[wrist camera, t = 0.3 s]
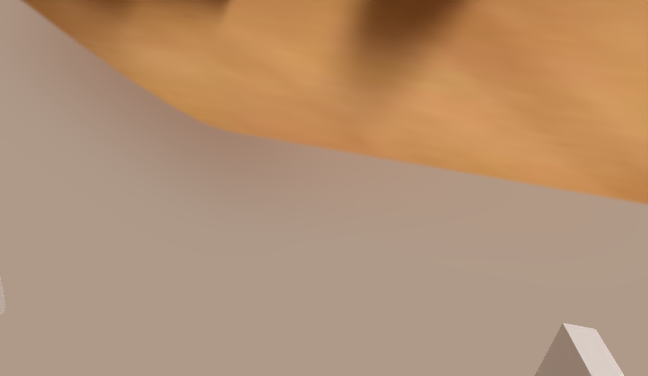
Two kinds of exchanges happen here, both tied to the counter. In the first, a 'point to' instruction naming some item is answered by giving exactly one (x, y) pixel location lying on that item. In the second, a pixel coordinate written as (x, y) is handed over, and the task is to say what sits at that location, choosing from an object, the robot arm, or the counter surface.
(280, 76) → the counter surface
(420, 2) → the counter surface
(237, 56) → the counter surface
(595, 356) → the robot arm
